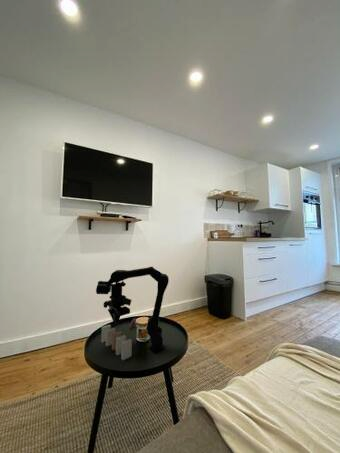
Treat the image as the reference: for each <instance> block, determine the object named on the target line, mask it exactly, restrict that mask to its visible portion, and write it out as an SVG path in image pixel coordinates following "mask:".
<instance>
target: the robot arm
mask: <svg viewBox="0 0 340 453" xmlns="http://www.w3.org/2000/svg"><path fill="white" fill-rule="evenodd" d="M144 276H150V277H151V278H152V279H153V280H154V281H156V282H157V292H156V296H155V297H156V298H155V302H154V307H153V311H152V316H151V317H150V316H149V317H148V319H147V324H146V327H145V330H146V333H147V335H148V336H149V337H150V346H148V347H147V348H148V350H150V351H152V353H155V354H157V353H159V352H161V351H163V350H165V347H164V346H163V343H164V342H163V341H164V338H163V328H161V326H160V325H159V324H160V314H161V309H162V305H163V304H162V303H163V300H164V294H165V292H166V290H167V287H168V284H169V281H170V280H169V276H168V275H167V274H166V273H163V272H160V270H157V269H156V268H155V267H154V266H148V267H142V268H135V269H131V270H130V269H129V270H125V269H116V270H115V271H113V272H112V273H111V274H110V278H109V280H107V281H106V280H105V281H104V280H99V281H98V282H97V285H96V288H95V293H96V295H109V293H110V295H109V299H110V300H106V301H104V302H103V308H105V309H107V307H108V309H107V311H108V313H109V315H110V317H111V319H112V322H113V324H114V325H118V324H119V322H120V319H121V317H122V316H126V315H130V314H131V308H129V307H127V306H131V303H132V302H133V301H132V299H130V298H129V297H127V296H126V295H124V294H123V287H125V286H126V285H127V283H126V282H125V280H127V279H131V278H137V277H138V278H139V277H144Z"/></svg>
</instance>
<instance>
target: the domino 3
mask: <svg viewBox="0 0 340 453" xmlns="http://www.w3.org/2000/svg"><path fill="white" fill-rule="evenodd" d="M122 334H123V333H122V331H121V330H119V331H115V333H113V334H112V345H111V350H112V351H116V338H117V337H120V336H122Z"/></svg>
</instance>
